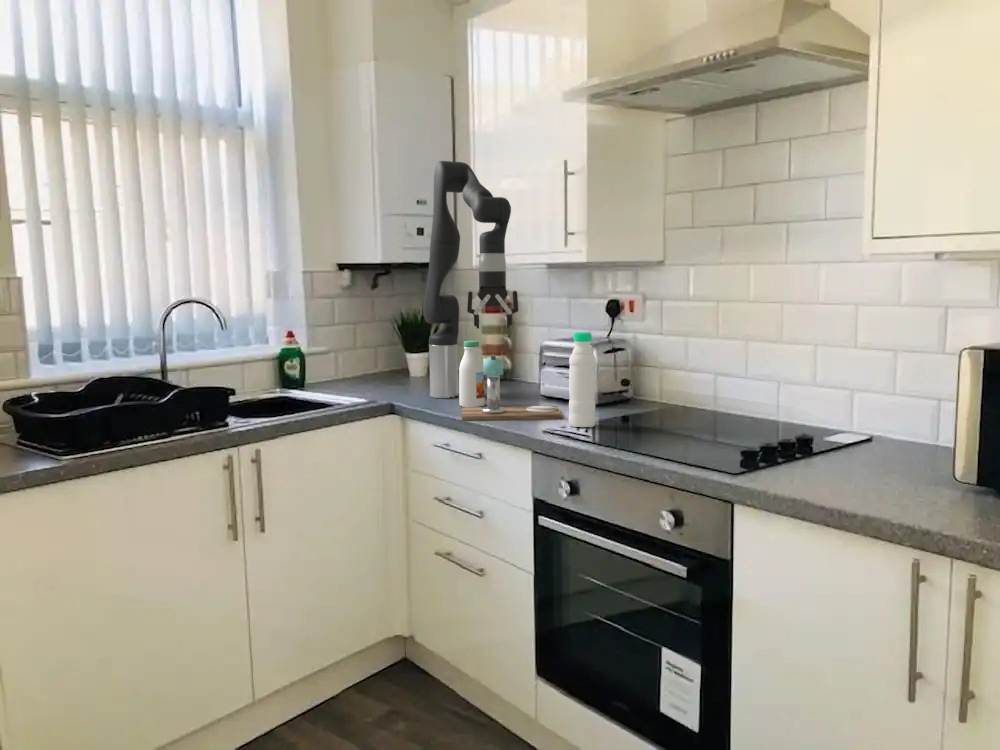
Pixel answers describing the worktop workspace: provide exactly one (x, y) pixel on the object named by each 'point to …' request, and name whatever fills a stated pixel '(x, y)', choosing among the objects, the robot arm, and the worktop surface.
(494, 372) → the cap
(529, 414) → the board
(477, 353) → the milk bottle
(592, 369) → the white bottle
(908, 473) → the worktop surface
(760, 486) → the worktop surface
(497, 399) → the post
